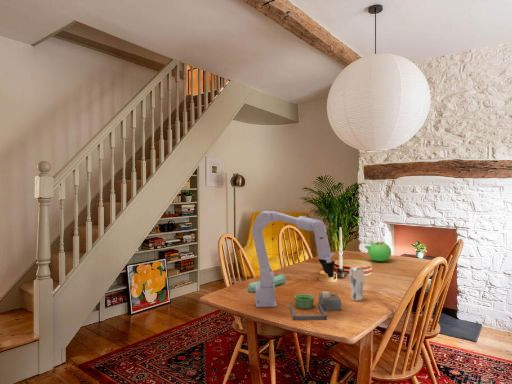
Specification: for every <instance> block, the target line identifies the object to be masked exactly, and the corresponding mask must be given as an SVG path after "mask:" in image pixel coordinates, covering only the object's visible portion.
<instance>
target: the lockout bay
mask: <svg viewBox="0 0 512 384" xmlns="http://www.w3.org/2000/svg"><path fill="white" fill-rule="evenodd" d="M317 306H318V307H317V308H318V309H319V312H320V314H317V315H316V314H314V315H313V314H311V315H308V314H307V315H304V314H303V315H301V314H300V315H299V314H298V315H296V313H295V311H294V307H293V304H289V310H290V314H291V317H292V320H293V321H308V320H309V321H310V320H311V321H315V320H316V321H318V320H319V321H322V320H324V321H325V320H326V321H327V320H328V316H327V314H326V312H325V310H323V308H322V306H321V304H319V303H318V305H317Z"/></svg>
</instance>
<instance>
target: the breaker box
mask: <svg viewBox="0 0 512 384" xmlns="http://www.w3.org/2000/svg"><path fill="white" fill-rule="evenodd" d="M318 304H321V306H322V308H323V310H324V311H342V300H341V298H340V297H339V295H338V294H337V293H334V292H331V293H330V298H323V297H322V292H321V293H319V292H318Z"/></svg>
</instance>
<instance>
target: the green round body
mask: <svg viewBox="0 0 512 384" xmlns="http://www.w3.org/2000/svg"><path fill="white" fill-rule="evenodd" d="M369 243H370V245H367V244H366V245H364V248H365V249H367V253H368V254H367V255H368V256H369V258H371V260H373V261H374V262H378V261H379V262H380V263H381V262H386V261H388V260H389V259H390V258H391V255H392V250H391V247H390V246H389V245H388V244H387V243H385V242H384V241H377V242H374V241H373V240H369Z"/></svg>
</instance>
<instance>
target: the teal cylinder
mask: <svg viewBox="0 0 512 384" xmlns="http://www.w3.org/2000/svg"><path fill="white" fill-rule="evenodd" d="M286 282H287V278H286V276H285V274H283V273H279V275H276V276H275V275H274V279H273V283H274V284H275V287H277V286H279V285H285V284H286ZM259 285H260V280H258V281H253V282H250V283H249V284H248V285H247V291H248V292H249V293H256V286H259Z"/></svg>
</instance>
